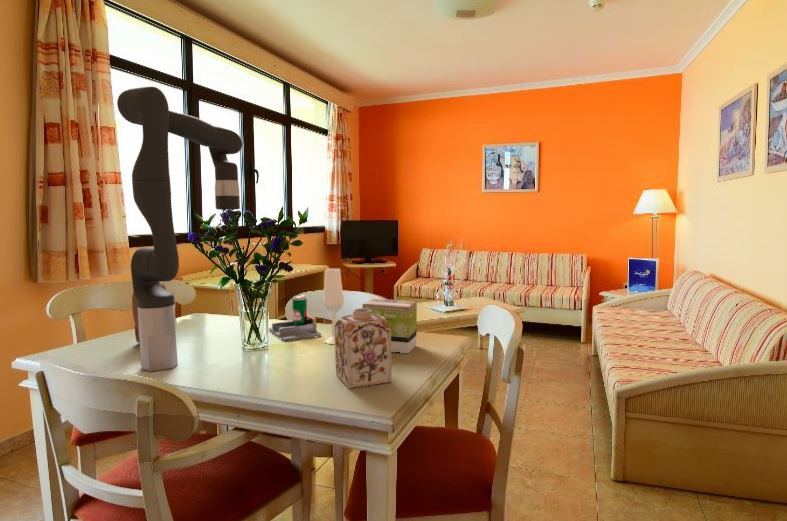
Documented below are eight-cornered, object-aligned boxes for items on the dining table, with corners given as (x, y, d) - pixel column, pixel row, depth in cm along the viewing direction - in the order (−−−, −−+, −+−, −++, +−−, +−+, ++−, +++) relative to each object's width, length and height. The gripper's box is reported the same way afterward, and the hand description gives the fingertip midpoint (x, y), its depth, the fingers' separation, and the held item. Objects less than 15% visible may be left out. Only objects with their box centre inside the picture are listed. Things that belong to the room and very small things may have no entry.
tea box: (361, 350, 153) (361, 303, 152) (372, 342, 163) (372, 297, 161) (409, 354, 149) (408, 305, 147) (417, 345, 158) (417, 300, 157)
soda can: (289, 330, 175) (288, 296, 174) (300, 327, 180) (299, 294, 178) (300, 332, 173) (299, 298, 171) (310, 329, 177) (309, 295, 176)
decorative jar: (376, 369, 135) (376, 304, 133) (393, 382, 125) (392, 312, 123) (334, 375, 131) (332, 307, 129) (347, 389, 120) (345, 316, 118)
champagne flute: (347, 343, 162) (346, 269, 159) (327, 345, 159) (325, 271, 157) (340, 338, 168) (339, 267, 165) (321, 340, 165) (319, 268, 163)
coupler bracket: (321, 336, 171) (320, 320, 170) (284, 341, 164) (283, 325, 164) (303, 326, 186) (302, 311, 186) (268, 330, 180) (268, 315, 179)
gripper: (244, 194, 158) (246, 245, 159) (234, 195, 170) (236, 243, 172) (219, 194, 154) (221, 246, 156) (211, 195, 166) (213, 243, 168)
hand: (229, 244), depth 164 cm, fingers open, 8 cm apart
